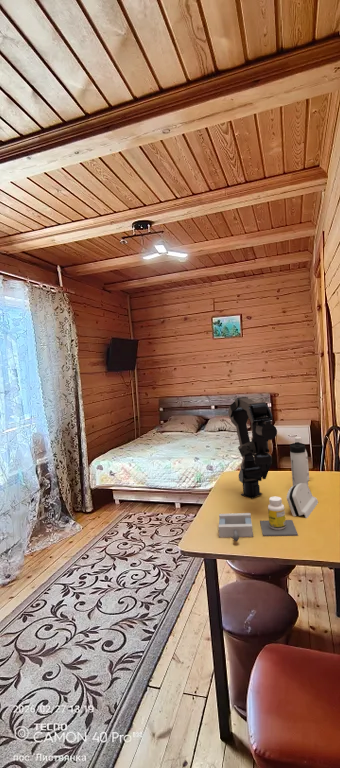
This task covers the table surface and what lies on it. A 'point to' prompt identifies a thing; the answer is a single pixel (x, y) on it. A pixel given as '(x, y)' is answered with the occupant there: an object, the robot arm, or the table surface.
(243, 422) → the robot arm
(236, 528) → the vise
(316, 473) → the table surface
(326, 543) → the table surface
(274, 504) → the supplement bottle
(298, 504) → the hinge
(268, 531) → the pad
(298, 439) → the bath foam
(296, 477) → the travel mug
